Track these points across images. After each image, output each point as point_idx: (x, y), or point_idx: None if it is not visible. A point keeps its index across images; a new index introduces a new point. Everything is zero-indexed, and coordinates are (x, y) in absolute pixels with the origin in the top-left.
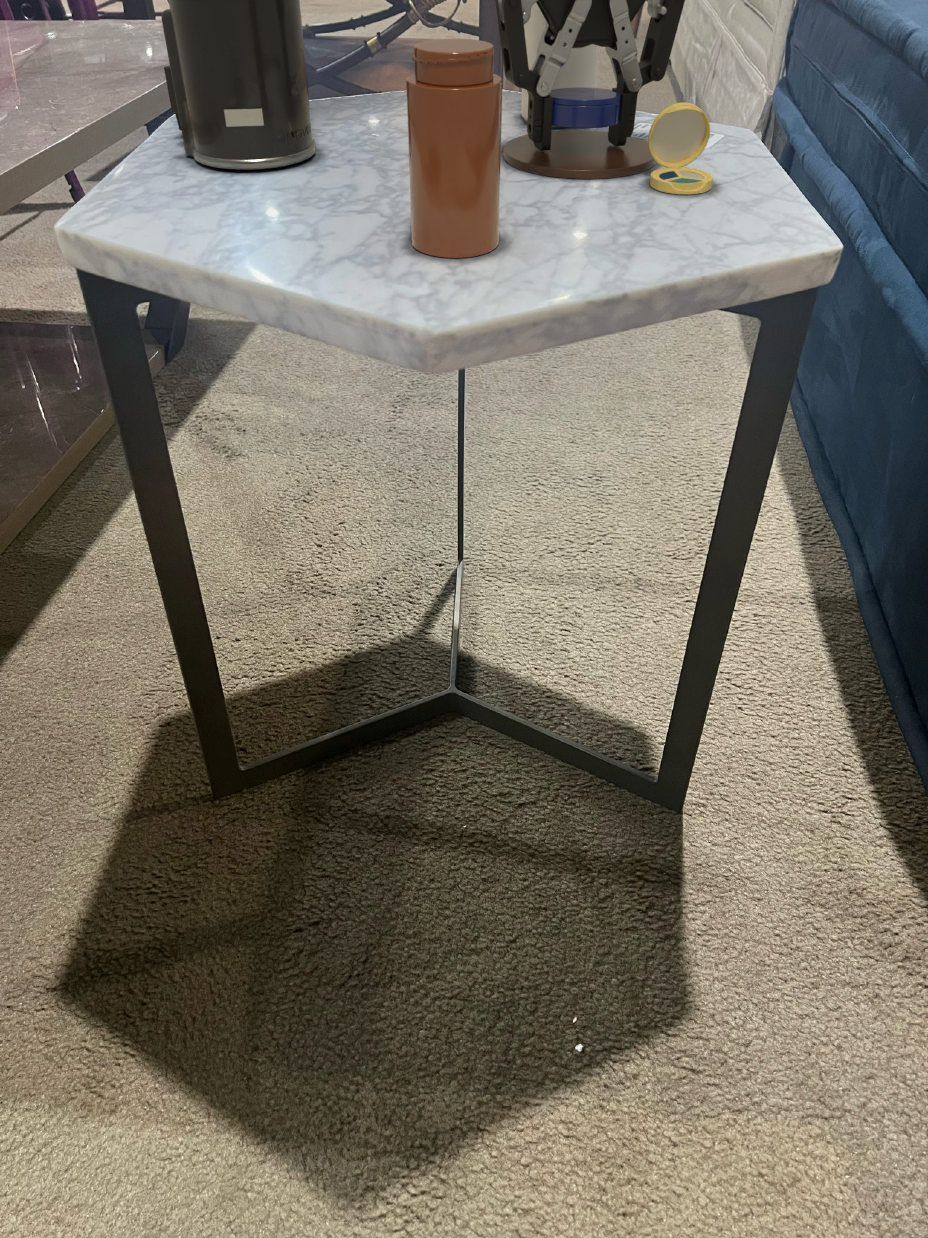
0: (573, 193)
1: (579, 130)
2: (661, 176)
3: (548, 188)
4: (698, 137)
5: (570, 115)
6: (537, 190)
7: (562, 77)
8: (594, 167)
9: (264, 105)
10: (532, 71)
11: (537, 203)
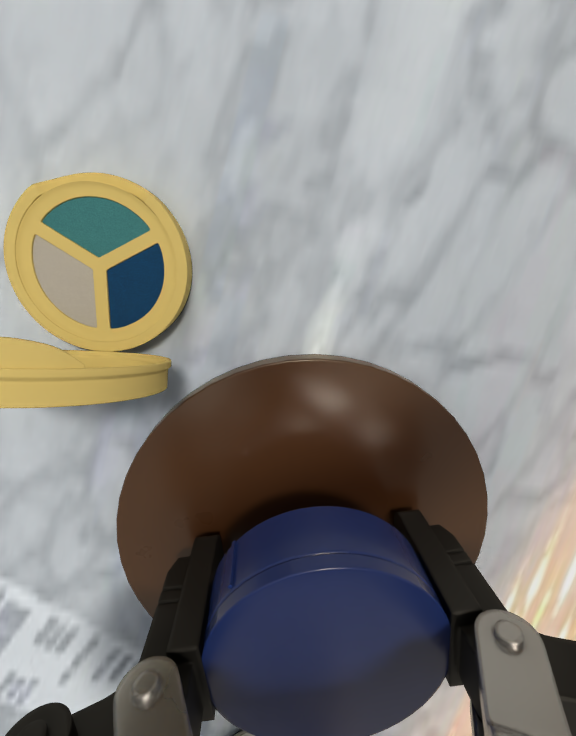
0: (406, 241)
1: None
2: (156, 283)
3: (452, 293)
4: None
5: (389, 540)
6: (483, 280)
7: None
8: (317, 383)
9: None
10: (569, 720)
11: (522, 167)
